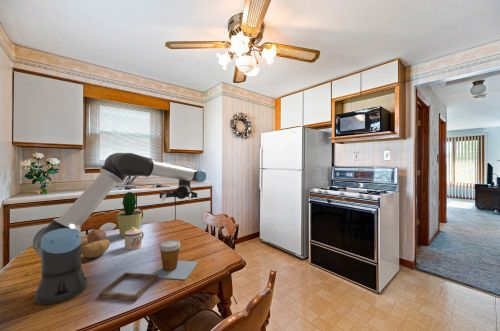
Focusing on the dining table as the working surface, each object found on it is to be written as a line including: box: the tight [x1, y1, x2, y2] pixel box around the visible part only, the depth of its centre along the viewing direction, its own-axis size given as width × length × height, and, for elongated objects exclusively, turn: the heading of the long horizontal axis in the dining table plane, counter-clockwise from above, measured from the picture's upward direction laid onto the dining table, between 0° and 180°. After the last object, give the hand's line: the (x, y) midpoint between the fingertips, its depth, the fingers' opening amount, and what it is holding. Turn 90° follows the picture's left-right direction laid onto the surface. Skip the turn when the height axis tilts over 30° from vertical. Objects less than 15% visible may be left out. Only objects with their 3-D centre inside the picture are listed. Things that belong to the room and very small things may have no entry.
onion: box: [86, 228, 107, 244], centre depth 131 cm, size 10×9×10 cm
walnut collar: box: [98, 272, 159, 302], centre depth 87 cm, size 15×15×2 cm
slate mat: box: [153, 260, 199, 281], centre depth 102 cm, size 16×16×1 cm
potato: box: [81, 238, 111, 259], centre depth 115 cm, size 10×14×8 cm
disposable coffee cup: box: [158, 239, 181, 271], centre depth 102 cm, size 10×10×12 cm
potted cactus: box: [116, 191, 143, 238], centre depth 148 cm, size 15×15×30 cm
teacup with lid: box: [124, 227, 145, 251], centre depth 128 cm, size 12×9×12 cm
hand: (176, 198), depth 113 cm, fingers open, 13 cm apart
